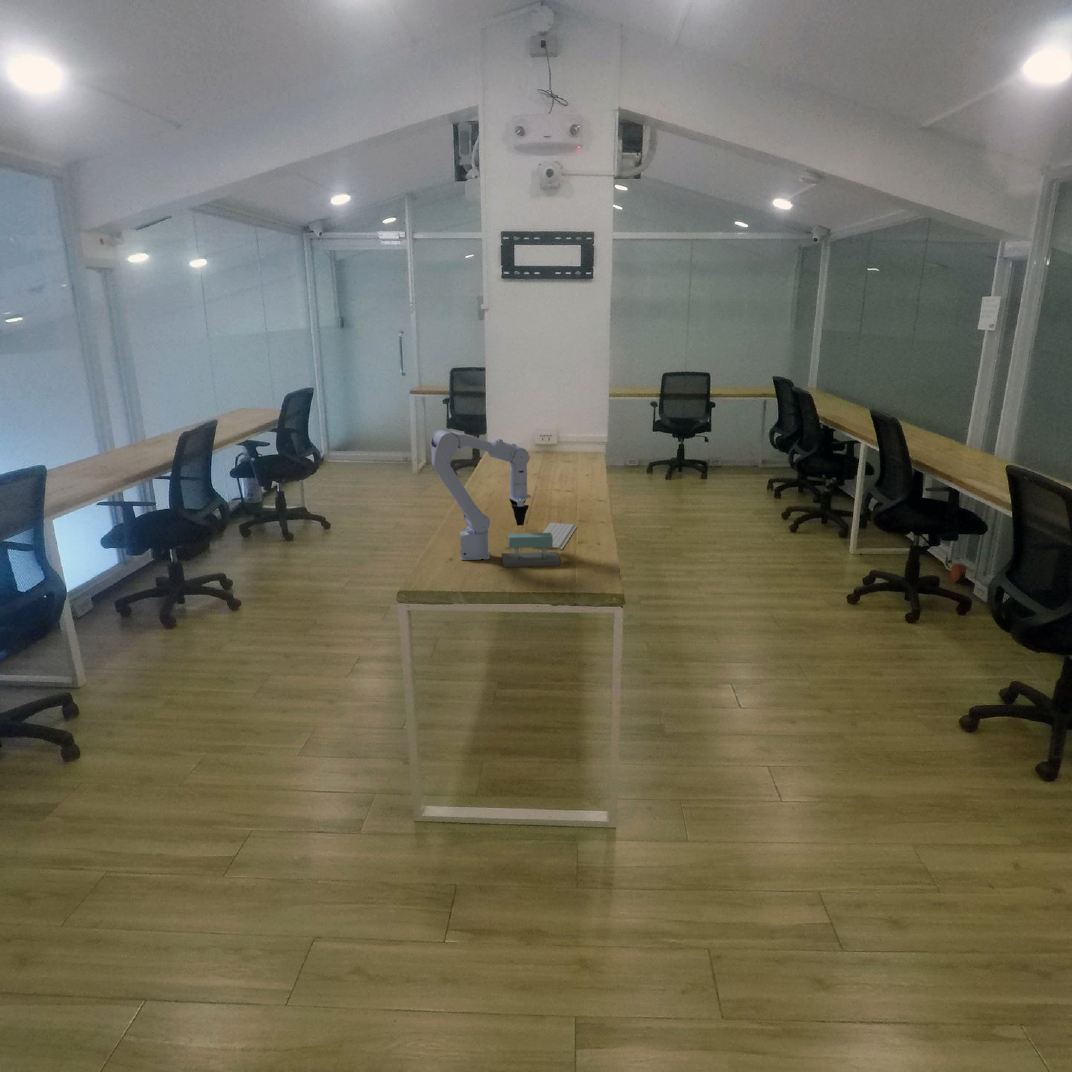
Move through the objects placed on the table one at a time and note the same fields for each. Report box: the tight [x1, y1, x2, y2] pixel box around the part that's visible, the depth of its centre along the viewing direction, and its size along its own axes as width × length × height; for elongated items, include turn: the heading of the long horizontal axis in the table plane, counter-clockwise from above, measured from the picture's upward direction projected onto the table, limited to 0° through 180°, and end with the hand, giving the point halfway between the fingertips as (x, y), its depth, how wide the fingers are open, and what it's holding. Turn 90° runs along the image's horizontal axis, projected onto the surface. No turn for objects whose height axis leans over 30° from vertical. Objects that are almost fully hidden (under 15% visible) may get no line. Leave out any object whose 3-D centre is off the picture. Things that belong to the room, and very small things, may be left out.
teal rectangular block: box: [507, 532, 553, 549], centre depth 244 cm, size 14×4×4 cm, turn 96°
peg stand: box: [501, 547, 560, 568], centre depth 245 cm, size 18×10×6 cm, turn 96°
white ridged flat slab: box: [535, 522, 578, 551], centre depth 273 cm, size 31×3×12 cm
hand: (519, 522), depth 253 cm, fingers open, 7 cm apart
